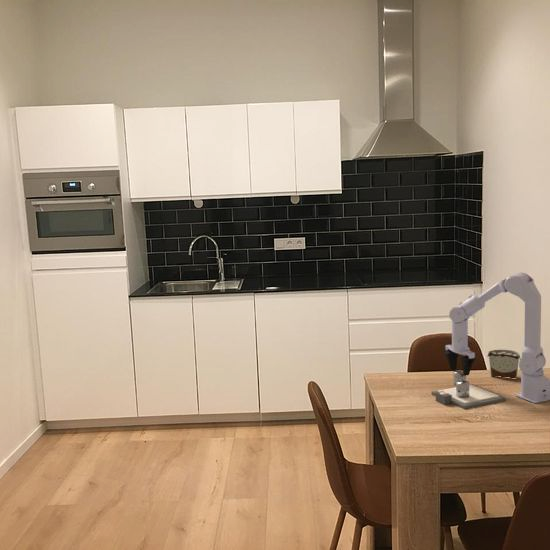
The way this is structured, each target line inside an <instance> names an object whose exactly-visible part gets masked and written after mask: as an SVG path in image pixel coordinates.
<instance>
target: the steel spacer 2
mask: <svg viewBox="0 0 550 550" xmlns="http://www.w3.org/2000/svg"><path fill="white" fill-rule="evenodd" d="M469 384H470V381H468V380H466V381H463V380H461V381H456V386H455V387H456V396H457V397H459V398H469Z"/></svg>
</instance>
